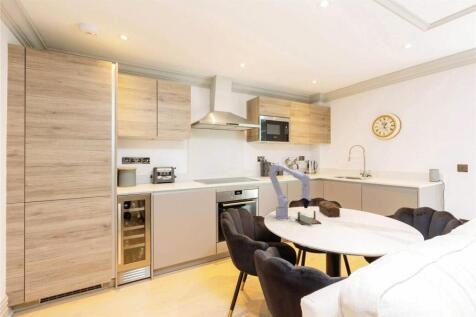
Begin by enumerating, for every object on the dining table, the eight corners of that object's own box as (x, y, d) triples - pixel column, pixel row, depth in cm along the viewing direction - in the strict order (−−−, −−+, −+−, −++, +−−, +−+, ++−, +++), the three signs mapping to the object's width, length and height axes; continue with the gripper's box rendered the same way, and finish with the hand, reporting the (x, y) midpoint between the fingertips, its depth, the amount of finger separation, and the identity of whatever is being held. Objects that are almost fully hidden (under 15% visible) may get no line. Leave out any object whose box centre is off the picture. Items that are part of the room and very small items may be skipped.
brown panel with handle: (301, 225, 164) (301, 215, 163) (295, 220, 175) (295, 211, 175) (321, 223, 166) (321, 214, 166) (313, 219, 178) (313, 210, 178)
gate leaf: (299, 220, 170) (299, 213, 170) (301, 219, 171) (301, 213, 171) (310, 224, 160) (310, 217, 160) (311, 224, 161) (311, 217, 161)
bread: (318, 211, 201) (318, 200, 200) (330, 211, 201) (330, 200, 201) (327, 217, 182) (327, 205, 182) (340, 217, 182) (340, 204, 182)
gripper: (315, 192, 168) (315, 210, 169) (306, 188, 183) (306, 205, 183) (306, 192, 167) (306, 210, 168) (298, 189, 182) (298, 206, 182)
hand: (305, 208), depth 175 cm, fingers closed
